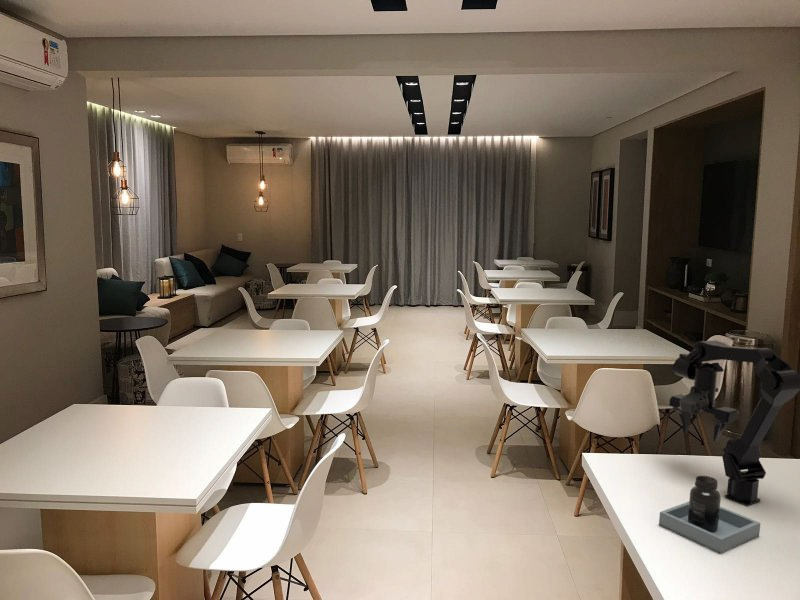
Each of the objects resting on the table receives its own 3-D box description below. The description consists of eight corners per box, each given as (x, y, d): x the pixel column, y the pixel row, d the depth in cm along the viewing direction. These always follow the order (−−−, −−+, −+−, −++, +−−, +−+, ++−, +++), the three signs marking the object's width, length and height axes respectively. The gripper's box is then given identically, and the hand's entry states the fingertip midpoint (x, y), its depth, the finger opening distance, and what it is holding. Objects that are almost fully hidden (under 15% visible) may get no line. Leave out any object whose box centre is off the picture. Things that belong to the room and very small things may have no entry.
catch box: (759, 536, 161) (760, 522, 160) (720, 554, 152) (721, 539, 151) (697, 510, 174) (698, 497, 173) (658, 525, 165) (659, 511, 165)
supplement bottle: (724, 532, 161) (728, 484, 159) (697, 533, 160) (701, 485, 158) (707, 519, 168) (711, 473, 166) (681, 520, 167) (685, 474, 165)
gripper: (659, 380, 196) (655, 431, 199) (719, 395, 181) (714, 451, 183) (682, 375, 202) (678, 425, 205) (742, 390, 187) (737, 444, 189)
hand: (700, 436), depth 195 cm, fingers open, 9 cm apart
